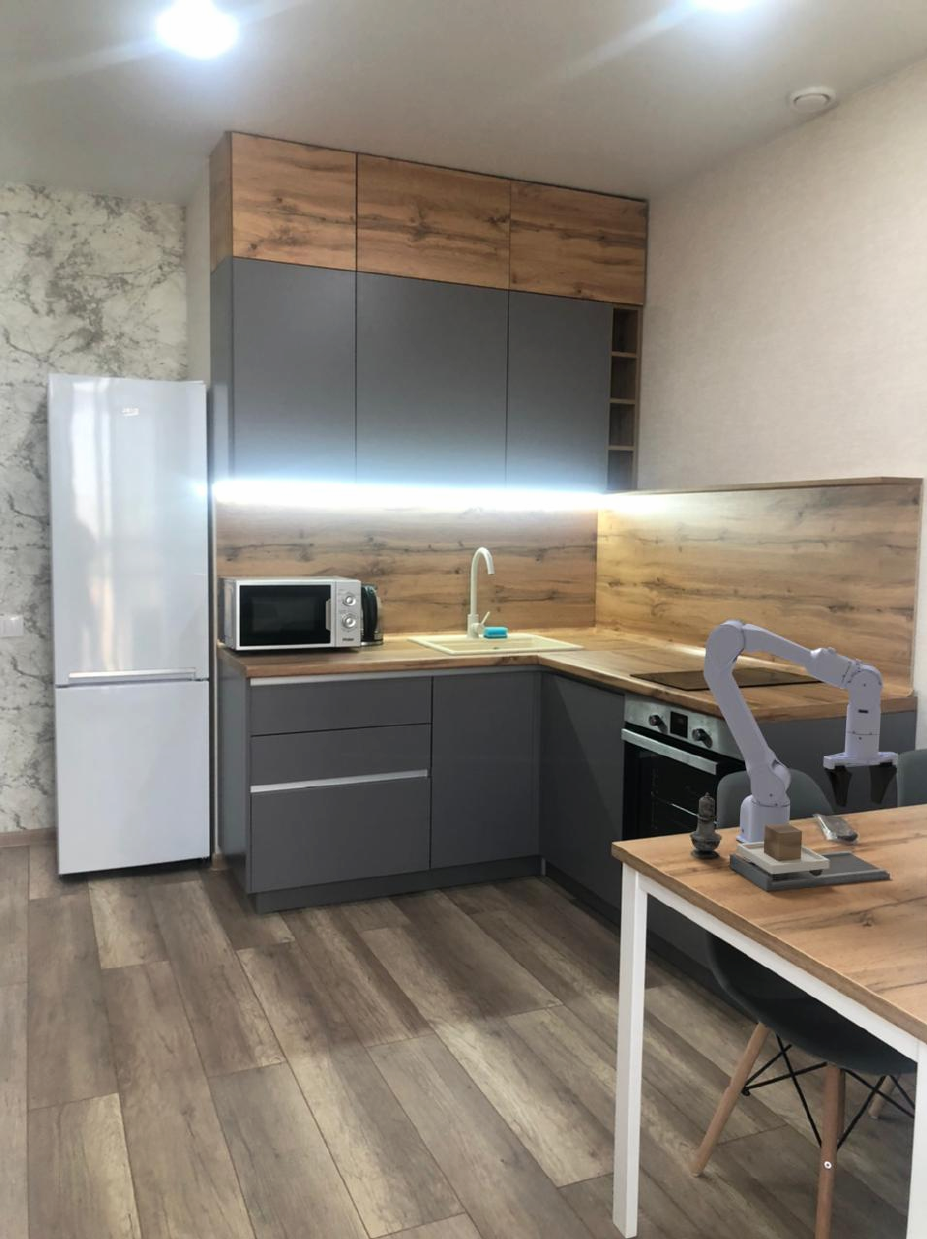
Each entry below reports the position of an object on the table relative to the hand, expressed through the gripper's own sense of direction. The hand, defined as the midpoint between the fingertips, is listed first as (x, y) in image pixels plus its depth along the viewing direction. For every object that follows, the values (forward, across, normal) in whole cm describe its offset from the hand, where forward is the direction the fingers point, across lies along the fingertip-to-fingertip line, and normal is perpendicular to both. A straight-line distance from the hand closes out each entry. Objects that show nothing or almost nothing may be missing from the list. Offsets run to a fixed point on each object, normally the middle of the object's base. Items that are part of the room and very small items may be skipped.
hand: (858, 804), depth 184 cm
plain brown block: (+7, -18, -4) cm, 20 cm away
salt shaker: (+11, -26, +9) cm, 29 cm away
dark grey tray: (+10, -13, -4) cm, 17 cm away
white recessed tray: (+9, -18, -4) cm, 21 cm away
